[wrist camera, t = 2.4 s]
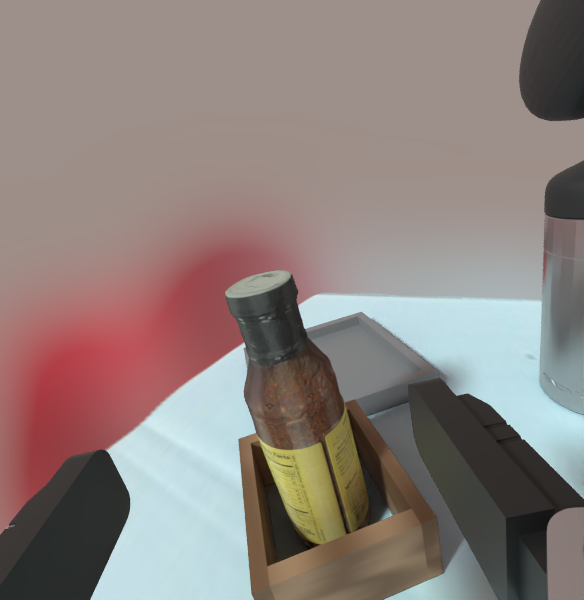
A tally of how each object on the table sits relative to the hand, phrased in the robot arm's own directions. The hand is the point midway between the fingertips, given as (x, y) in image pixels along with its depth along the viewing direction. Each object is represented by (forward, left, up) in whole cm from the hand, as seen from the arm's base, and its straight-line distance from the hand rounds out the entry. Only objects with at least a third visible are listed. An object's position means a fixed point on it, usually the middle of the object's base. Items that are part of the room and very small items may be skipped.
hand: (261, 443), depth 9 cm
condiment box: (-2, -11, -18) cm, 22 cm away
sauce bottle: (-2, -11, -19) cm, 22 cm away
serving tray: (-8, -30, -18) cm, 36 cm away
